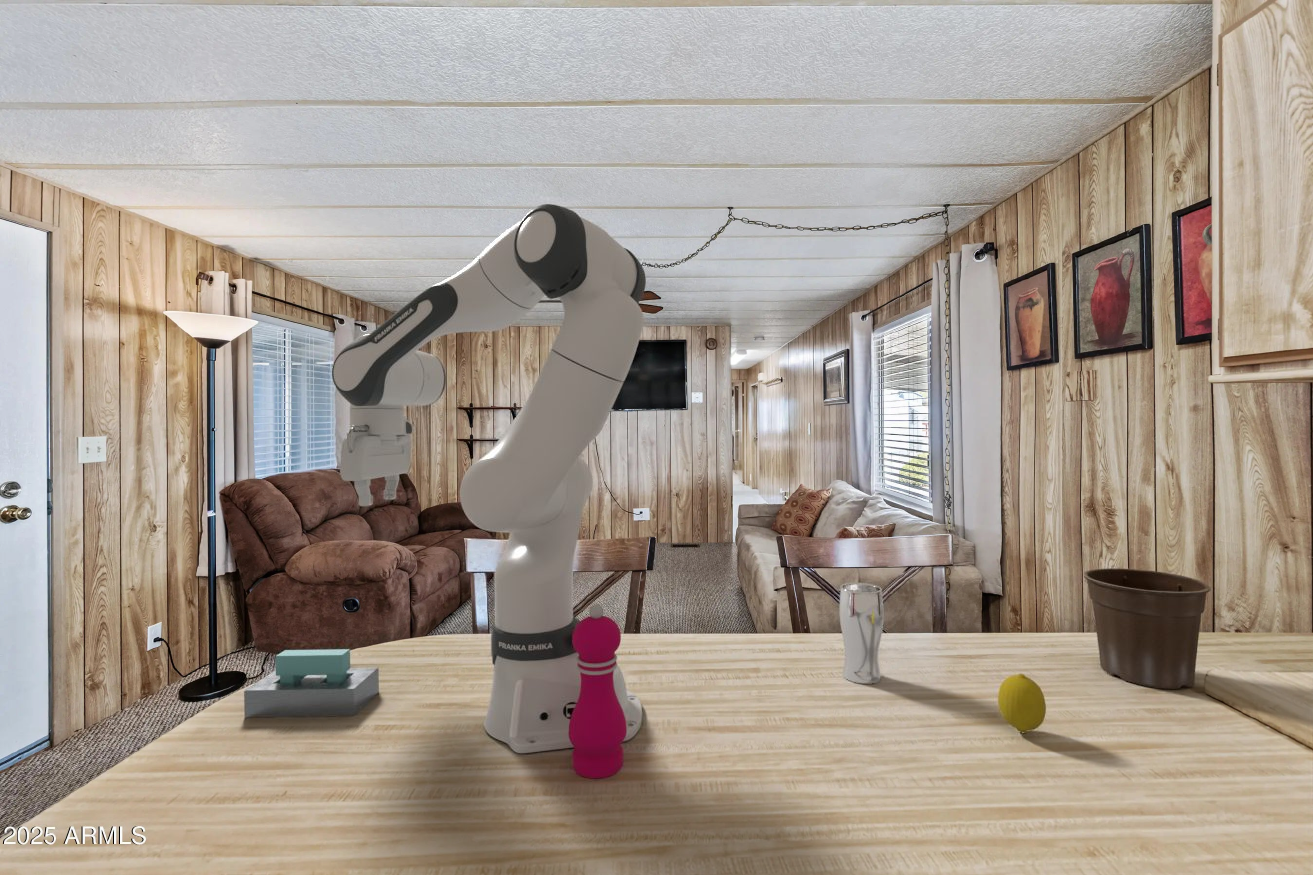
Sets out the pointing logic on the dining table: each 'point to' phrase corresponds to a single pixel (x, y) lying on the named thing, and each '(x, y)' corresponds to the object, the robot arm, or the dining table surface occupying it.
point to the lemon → (1021, 703)
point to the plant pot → (1147, 624)
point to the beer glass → (861, 631)
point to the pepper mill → (597, 698)
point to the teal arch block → (313, 664)
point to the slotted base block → (312, 695)
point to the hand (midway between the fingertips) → (378, 502)
